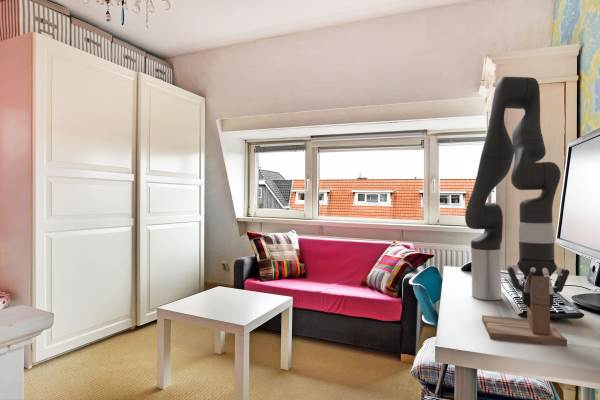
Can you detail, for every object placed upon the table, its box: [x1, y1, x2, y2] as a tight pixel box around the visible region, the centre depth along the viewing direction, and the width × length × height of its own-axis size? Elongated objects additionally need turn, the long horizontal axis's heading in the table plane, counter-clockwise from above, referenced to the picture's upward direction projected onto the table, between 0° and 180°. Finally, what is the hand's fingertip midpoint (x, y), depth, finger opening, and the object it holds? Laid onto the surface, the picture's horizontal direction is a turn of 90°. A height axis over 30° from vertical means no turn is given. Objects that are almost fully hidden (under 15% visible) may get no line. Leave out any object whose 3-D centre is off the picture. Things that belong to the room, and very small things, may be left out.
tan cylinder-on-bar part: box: [526, 276, 551, 335], centre depth 91 cm, size 4×11×18 cm, turn 154°
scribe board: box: [481, 314, 568, 347], centre depth 93 cm, size 14×16×2 cm
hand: (537, 306), depth 91 cm, fingers closed on tan cylinder-on-bar part, 4 cm apart
